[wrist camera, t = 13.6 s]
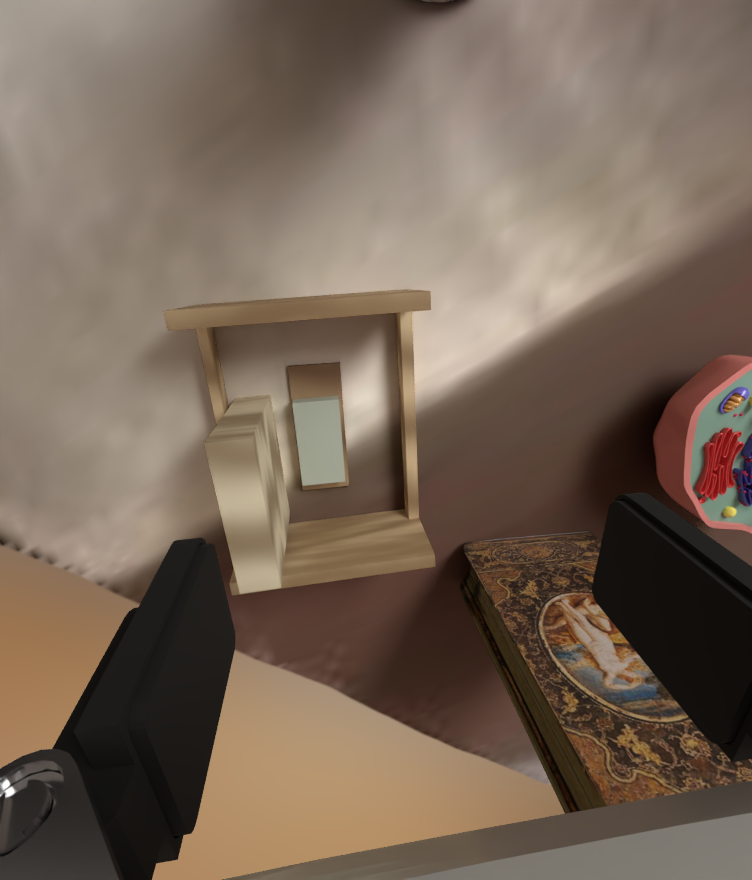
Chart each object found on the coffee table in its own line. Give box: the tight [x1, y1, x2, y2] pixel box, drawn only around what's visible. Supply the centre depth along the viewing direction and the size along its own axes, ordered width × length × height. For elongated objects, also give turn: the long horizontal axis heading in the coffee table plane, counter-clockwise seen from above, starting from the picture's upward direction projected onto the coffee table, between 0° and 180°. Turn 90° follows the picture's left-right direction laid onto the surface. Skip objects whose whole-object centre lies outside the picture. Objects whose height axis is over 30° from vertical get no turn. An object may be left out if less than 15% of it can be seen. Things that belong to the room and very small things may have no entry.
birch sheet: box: [204, 395, 290, 594], centre depth 34 cm, size 12×3×11 cm, turn 4°
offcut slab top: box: [292, 396, 345, 486], centre depth 38 cm, size 8×4×1 cm, turn 3°
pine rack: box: [163, 289, 435, 596], centre depth 34 cm, size 22×17×8 cm
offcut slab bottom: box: [287, 362, 349, 490], centre depth 39 cm, size 12×4×1 cm, turn 3°
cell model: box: [653, 355, 752, 533], centre depth 38 cm, size 17×20×11 cm
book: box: [460, 531, 752, 814], centre depth 35 cm, size 16×6×25 cm, turn 91°
